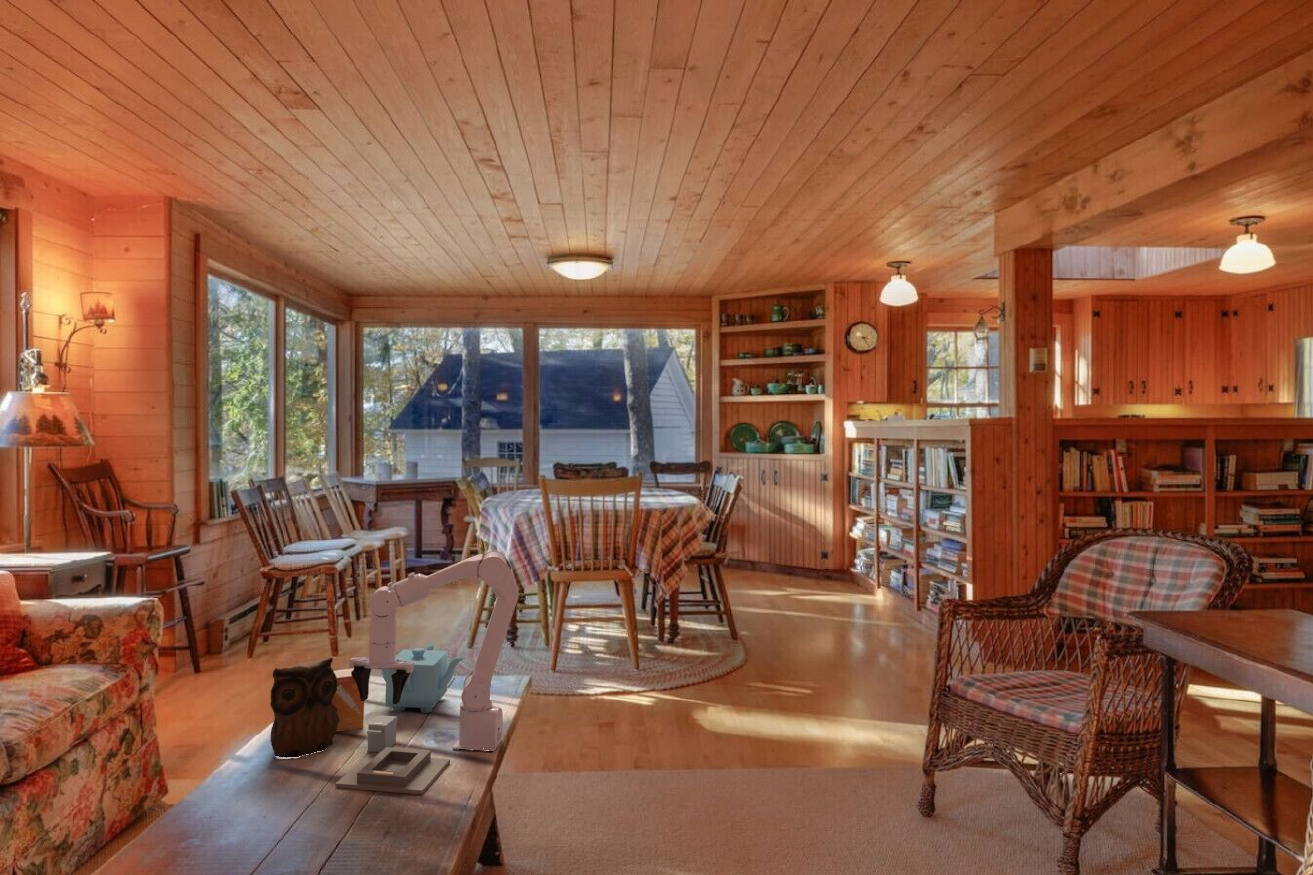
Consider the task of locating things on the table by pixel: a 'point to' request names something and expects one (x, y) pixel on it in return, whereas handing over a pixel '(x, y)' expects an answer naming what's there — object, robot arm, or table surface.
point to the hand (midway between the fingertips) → (380, 701)
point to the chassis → (395, 771)
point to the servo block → (381, 733)
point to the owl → (303, 708)
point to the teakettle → (422, 678)
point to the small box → (348, 701)
